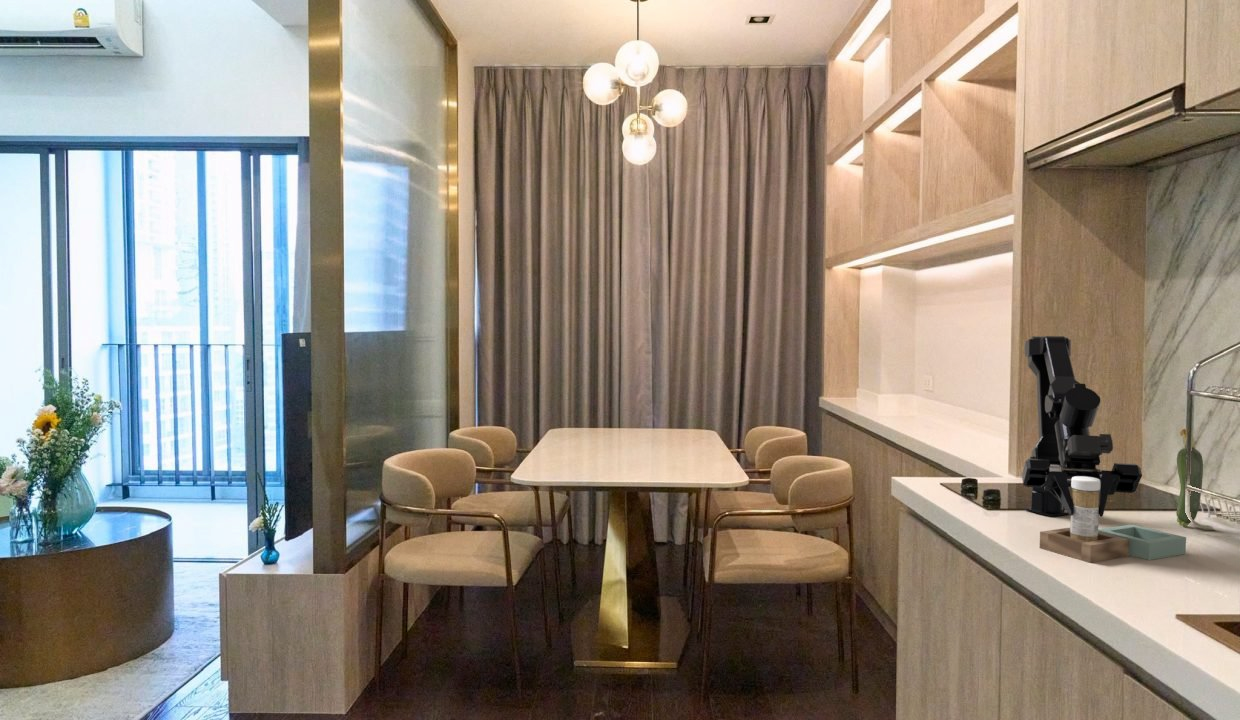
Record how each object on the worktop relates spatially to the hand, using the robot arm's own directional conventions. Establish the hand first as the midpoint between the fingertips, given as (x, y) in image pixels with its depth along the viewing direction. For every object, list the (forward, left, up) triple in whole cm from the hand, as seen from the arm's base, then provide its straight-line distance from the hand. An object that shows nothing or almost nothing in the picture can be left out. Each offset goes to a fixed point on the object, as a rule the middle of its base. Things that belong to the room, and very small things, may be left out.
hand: (1086, 514), depth 148 cm
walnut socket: (-1, -1, -7) cm, 7 cm away
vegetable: (-37, -5, -7) cm, 38 cm away
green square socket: (-12, +2, -7) cm, 14 cm away
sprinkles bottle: (-1, -1, -7) cm, 7 cm away
